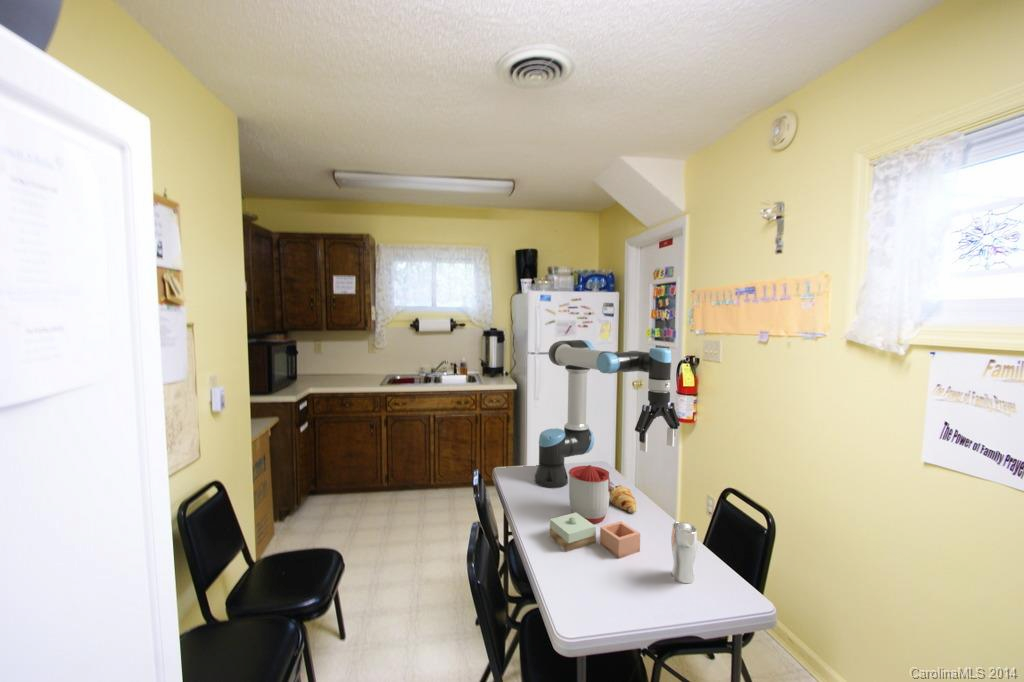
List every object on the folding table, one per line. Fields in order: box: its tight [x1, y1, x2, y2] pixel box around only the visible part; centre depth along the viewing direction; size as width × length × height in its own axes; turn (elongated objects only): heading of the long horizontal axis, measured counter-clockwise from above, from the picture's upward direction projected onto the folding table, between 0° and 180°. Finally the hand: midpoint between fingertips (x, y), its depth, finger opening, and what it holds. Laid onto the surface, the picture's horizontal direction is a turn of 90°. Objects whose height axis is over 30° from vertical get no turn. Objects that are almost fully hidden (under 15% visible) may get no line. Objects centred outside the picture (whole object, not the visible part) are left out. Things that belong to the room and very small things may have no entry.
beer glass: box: [670, 521, 698, 584], centre depth 120 cm, size 7×7×15 cm
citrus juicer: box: [568, 464, 616, 524], centre depth 156 cm, size 16×17×20 cm
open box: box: [599, 520, 641, 560], centre depth 136 cm, size 9×9×6 cm
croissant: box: [609, 484, 637, 514], centre depth 169 cm, size 21×10×8 cm, turn 15°
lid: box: [549, 512, 597, 543], centre depth 140 cm, size 11×11×4 cm
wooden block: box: [548, 527, 597, 552], centre depth 140 cm, size 10×12×3 cm
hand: (657, 448), depth 151 cm, fingers open, 13 cm apart
